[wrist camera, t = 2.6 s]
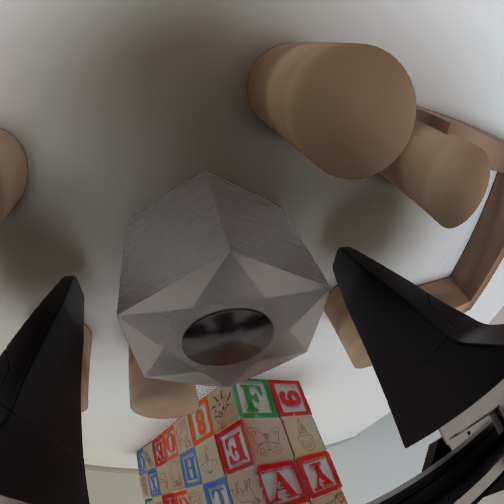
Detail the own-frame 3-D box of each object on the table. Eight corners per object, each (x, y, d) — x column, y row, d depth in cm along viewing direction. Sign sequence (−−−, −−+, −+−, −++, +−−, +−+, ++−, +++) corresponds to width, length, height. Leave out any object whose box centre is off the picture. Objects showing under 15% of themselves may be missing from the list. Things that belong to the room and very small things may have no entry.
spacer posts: (60, 360, 12) (55, 419, 9) (-47, 99, 4) (-116, 138, 1) (355, 320, 16) (383, 368, 13) (436, 83, 8) (509, 112, 5)
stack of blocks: (183, 454, 28) (204, 539, 19) (135, 451, 25) (152, 544, 16) (300, 378, 20) (358, 524, 10) (228, 373, 16) (286, 561, 7)
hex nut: (149, 308, 11) (154, 397, 8) (123, 177, 8) (98, 266, 5) (266, 293, 13) (298, 374, 10) (283, 166, 9) (348, 240, 6)
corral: (331, 319, 15) (350, 356, 13) (398, 100, 8) (449, 122, 6) (451, 286, 18) (470, 309, 16) (513, 145, 11) (543, 165, 9)
